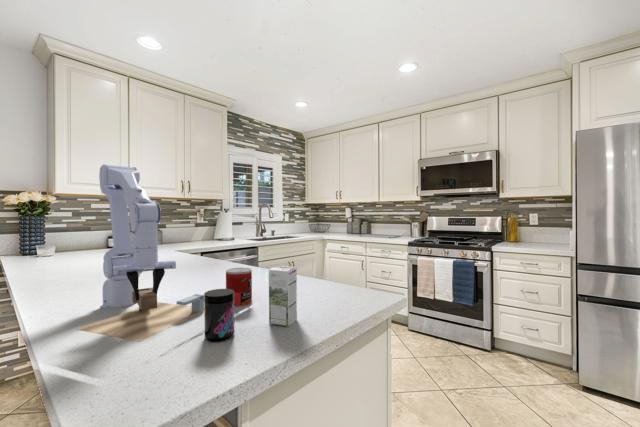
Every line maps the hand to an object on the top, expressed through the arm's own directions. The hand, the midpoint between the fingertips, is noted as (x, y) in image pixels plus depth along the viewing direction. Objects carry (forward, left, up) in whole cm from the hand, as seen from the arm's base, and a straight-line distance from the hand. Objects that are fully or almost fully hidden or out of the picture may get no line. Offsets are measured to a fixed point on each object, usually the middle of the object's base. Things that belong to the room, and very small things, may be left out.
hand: (146, 298), depth 81 cm
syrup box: (+35, +11, -6) cm, 38 cm away
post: (-7, +5, -6) cm, 10 cm away
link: (-1, +1, -2) cm, 2 cm away
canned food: (+15, +20, -6) cm, 26 cm away
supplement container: (+25, -2, -6) cm, 26 cm away
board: (+1, 0, -6) cm, 6 cm away
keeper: (+9, +6, -5) cm, 12 cm away
